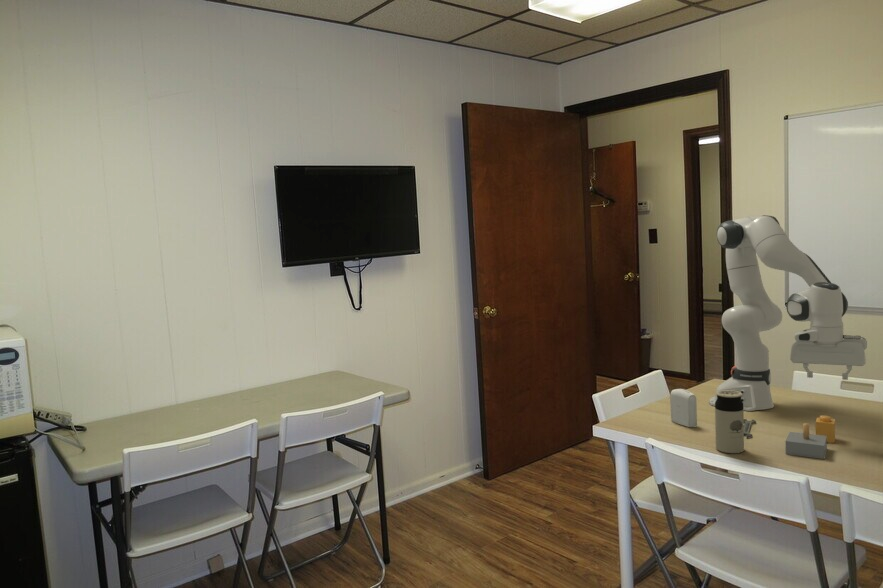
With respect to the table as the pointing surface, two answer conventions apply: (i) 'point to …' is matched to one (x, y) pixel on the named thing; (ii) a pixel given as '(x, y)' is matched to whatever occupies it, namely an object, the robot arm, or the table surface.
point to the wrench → (748, 428)
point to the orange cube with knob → (826, 427)
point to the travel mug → (729, 421)
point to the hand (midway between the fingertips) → (827, 378)
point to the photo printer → (683, 407)
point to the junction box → (806, 444)
